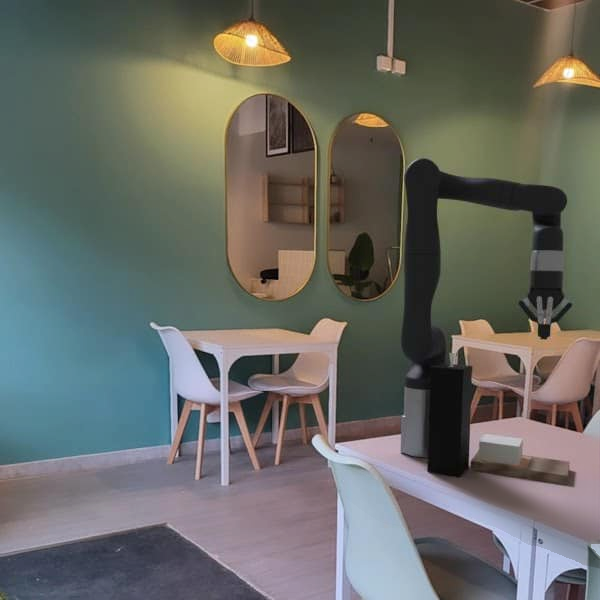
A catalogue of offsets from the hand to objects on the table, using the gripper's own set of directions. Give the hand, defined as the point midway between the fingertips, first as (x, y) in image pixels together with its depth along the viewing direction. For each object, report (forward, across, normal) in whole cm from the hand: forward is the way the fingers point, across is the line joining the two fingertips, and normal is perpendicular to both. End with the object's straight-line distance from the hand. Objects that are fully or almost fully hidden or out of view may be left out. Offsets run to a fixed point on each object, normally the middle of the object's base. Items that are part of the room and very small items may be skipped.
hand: (543, 339), depth 148 cm
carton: (+29, -8, -9) cm, 31 cm away
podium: (+31, -3, -9) cm, 32 cm away
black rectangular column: (+31, -18, -19) cm, 41 cm away
